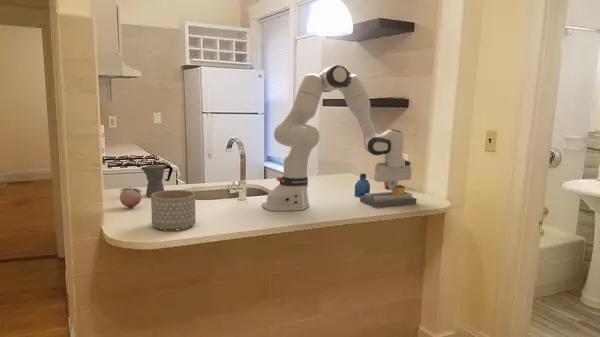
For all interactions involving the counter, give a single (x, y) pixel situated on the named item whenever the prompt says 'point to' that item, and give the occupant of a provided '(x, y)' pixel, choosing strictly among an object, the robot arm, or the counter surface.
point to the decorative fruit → (130, 197)
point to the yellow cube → (398, 190)
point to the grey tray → (387, 199)
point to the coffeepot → (155, 177)
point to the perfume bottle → (362, 186)
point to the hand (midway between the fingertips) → (392, 189)
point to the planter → (173, 209)
